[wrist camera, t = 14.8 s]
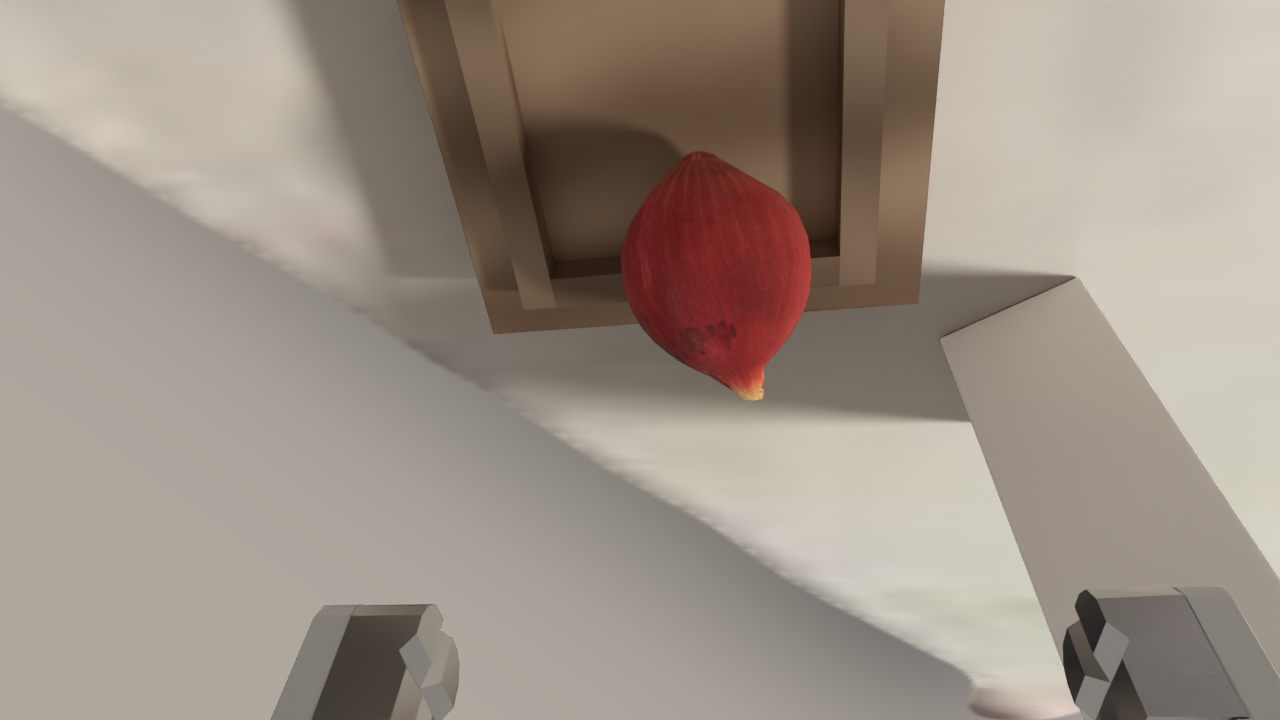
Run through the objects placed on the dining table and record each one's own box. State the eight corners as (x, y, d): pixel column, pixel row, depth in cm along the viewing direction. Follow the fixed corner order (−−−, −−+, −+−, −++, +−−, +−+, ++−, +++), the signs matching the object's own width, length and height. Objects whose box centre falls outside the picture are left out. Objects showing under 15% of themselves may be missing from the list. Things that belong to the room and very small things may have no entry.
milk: (1078, 274, 34) (1480, 859, 17) (1121, 372, 37) (1502, 959, 20) (935, 338, 36) (1156, 911, 19) (986, 426, 39) (1219, 994, 22)
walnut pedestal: (398, -157, 26) (342, -131, 22) (930, -236, 24) (978, -224, 20) (512, 278, 36) (487, 352, 32) (897, 247, 34) (924, 322, 30)
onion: (593, 197, 29) (641, 426, 28) (610, 130, 23) (670, 414, 22) (754, 172, 30) (804, 392, 29) (808, 101, 24) (872, 373, 23)
